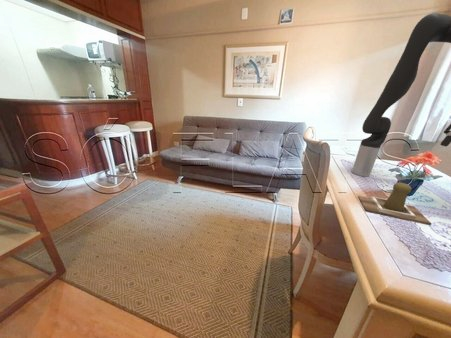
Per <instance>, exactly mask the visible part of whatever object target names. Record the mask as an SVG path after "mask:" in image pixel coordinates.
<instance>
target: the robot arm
mask: <svg viewBox="0 0 451 338" xmlns="http://www.w3.org/2000/svg"><path fill="white" fill-rule="evenodd" d="M433 42H434V43H448V44H451V15H449V14H446V13H445V14H444V13H437V12H436V13H435V12H433V13H429V14H427V15H425V16H424V17H422V18H421V19H420V20H419V21H418V22H417V23H416V25H415V26H414V28H413V30H412V31H411V33H410V35H409V38H408V41H407V43H406V46H405V47H404V50H403V52H402V54H401V57H400V58H399V59H398V62H397V64H396V66H395V68H394V69H393V72H392V73H391V75H390V77H389V79H388V80H387V82H386V84H385V86H384V89H383V90H382V92H381V94H380V96H379V97H378V99H377V101H376V103H374V106H373V108H372V109H371V110H370V111H369V114H368V115H367V116H366V118H365V120H364V121H363V124H362V128H361V129H362V132H363V133H364V134H369V135H370V136H368V137H366V138H363V139H362V140H361V141H360V145H359V147H358V151H357V154H356V157H355V161H354V163H353V165H352V169H351V173H352V174H354V175H356V176H360V177H367V178H368V177H370V176H371V174H372V171H373V168H374V167H375V163H376V160H377V158H378V154H379V152H380V149H381V147H382V145H383V144H384V143H385V141H386V138H387V137H388V134H389V132H390V129H391V125H392V122H391V119H390V118H389V117H388V116H384V114H385V112H386V111H387V110H388V109H389V108H391V107H392V106H393V105H395V103H397V102H398V101H400V100H401V99H402V98H403V97H404V96H406V94H407V93H408V92H409V91H410V88H412V85H413V83H414V82H415V81H416V78H417V75H418V69H419V67H420V66H419V64H420V60H421V58H422V55H423V54H424V52H425V50H426V48H427V47H428V45H429V43H433ZM443 133H444V134H445V137H444V138H443V139H442V140H441V142H440V143H439V144H440V146H442V147H448V146H449V145H450V144H451V123H450V124H449V125H448V126H447V128H445V129H444V131H443Z"/></svg>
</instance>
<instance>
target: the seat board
mask: <svg viewBox="0 0 451 338" xmlns="http://www.w3.org/2000/svg"><path fill="white" fill-rule="evenodd" d="M357 199H358V201H359V202H360V204H361V205H362V208H363V209H364V211H365V212H367V213H372V214H377V215H381V216H385V217H391V218H395V219H399V220H404V221H409V222H413V223H414V222H415V223H418V224H419V223H420V224H423V225H427V226H428V225H429V226H431V225H432V222H430V220H428V218H427V217H425V216H424V214H423V213H422V212H420V211H419V210H418V209H417V207H415V206H414V205H408V204H405V205H404V209H403V212H397V211H392V210H388V209H386V208H385V207H384V204H385V202H386V201H387V199H388V198H382V197H377V196H373V195H372V196H371V197H366V196H361V195H358V196H357Z"/></svg>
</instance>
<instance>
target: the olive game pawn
mask: <svg viewBox="0 0 451 338" xmlns="http://www.w3.org/2000/svg"><path fill="white" fill-rule="evenodd" d="M412 190H413V189H412V186H410V185H409V184H408V183H404V182H395V183H394V184H393V186H392V192H391V193H390V195H389V196H388V198H386V199H387V201H386V202H385V204H384V207H385V208H386V209H388V210H392V211H397V212H403V209H404V205H406V200H407V197H408V194H410V193H411V192H412Z"/></svg>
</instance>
